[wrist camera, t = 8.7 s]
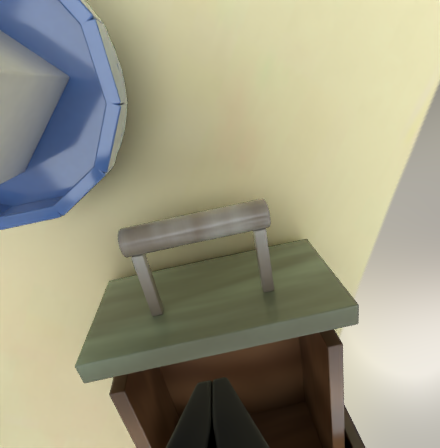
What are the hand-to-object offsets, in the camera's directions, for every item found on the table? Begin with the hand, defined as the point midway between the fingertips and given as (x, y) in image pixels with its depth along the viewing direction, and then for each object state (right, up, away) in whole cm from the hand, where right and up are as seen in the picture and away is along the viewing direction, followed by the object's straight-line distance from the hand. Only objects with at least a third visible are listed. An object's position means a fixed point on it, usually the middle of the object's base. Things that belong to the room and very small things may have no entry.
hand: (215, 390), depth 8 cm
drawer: (0, -2, +14) cm, 14 cm away
